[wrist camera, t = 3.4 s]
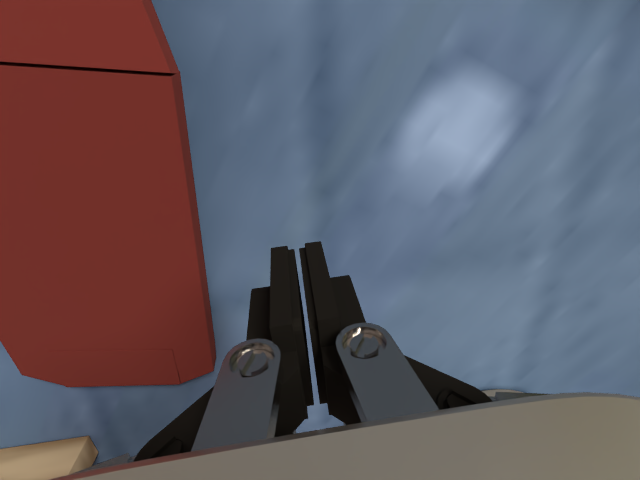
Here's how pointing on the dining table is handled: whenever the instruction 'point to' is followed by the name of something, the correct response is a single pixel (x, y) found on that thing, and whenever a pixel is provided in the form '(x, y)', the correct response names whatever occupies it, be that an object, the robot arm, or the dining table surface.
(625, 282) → the dining table surface
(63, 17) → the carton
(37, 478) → the pine frame
